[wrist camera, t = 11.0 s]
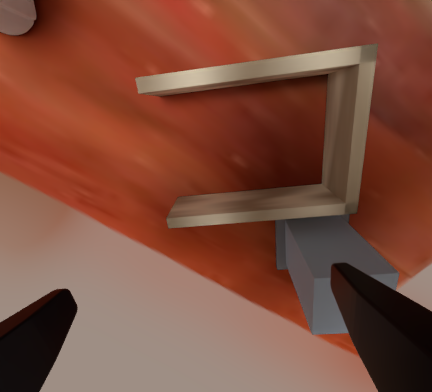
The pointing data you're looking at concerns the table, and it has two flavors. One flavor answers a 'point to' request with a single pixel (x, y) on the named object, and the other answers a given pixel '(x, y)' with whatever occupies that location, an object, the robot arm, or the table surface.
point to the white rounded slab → (16, 16)
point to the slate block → (328, 266)
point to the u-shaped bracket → (333, 139)
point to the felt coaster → (281, 240)
